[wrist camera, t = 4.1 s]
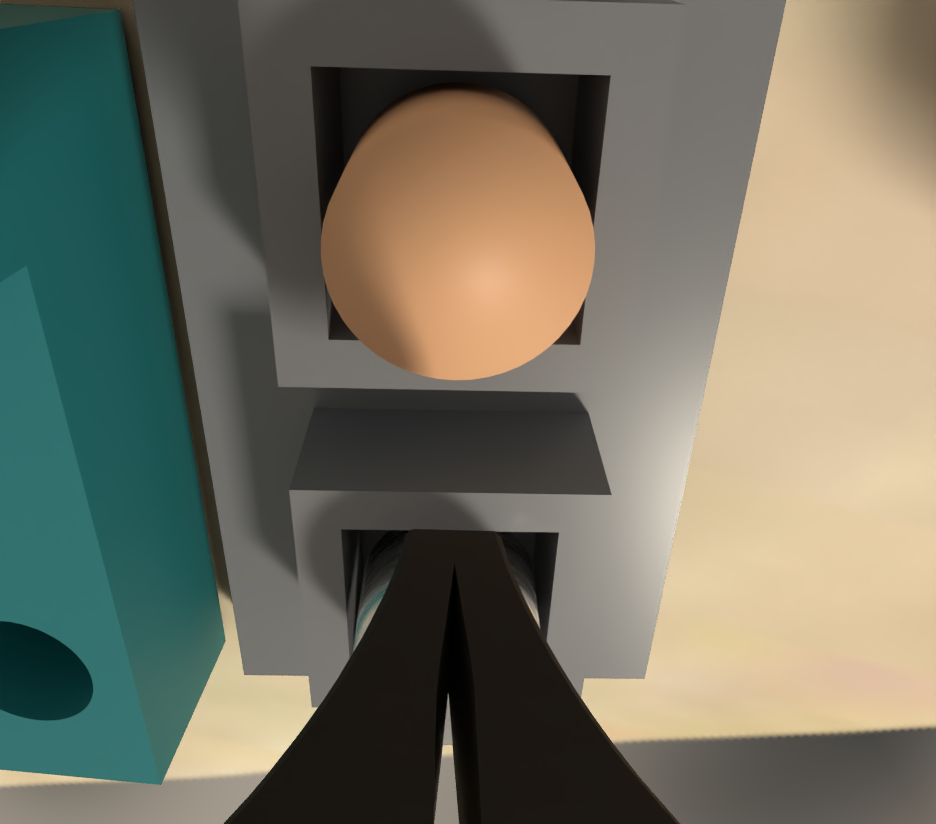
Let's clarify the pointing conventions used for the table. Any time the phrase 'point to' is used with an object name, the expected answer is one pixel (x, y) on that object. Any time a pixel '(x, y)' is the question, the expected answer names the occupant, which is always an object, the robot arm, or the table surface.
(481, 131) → the middle knob
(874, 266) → the table surface
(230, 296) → the control panel
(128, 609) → the teal l-shaped bracket
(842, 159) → the table surface
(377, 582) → the knob
